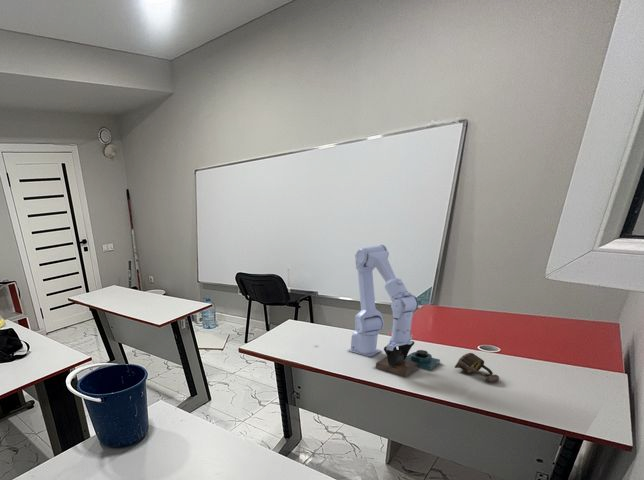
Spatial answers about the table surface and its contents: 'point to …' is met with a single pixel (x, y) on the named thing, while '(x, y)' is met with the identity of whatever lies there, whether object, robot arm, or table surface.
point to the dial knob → (400, 359)
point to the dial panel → (397, 367)
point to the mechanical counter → (475, 366)
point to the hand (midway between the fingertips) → (397, 362)
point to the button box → (423, 361)
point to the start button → (421, 353)
